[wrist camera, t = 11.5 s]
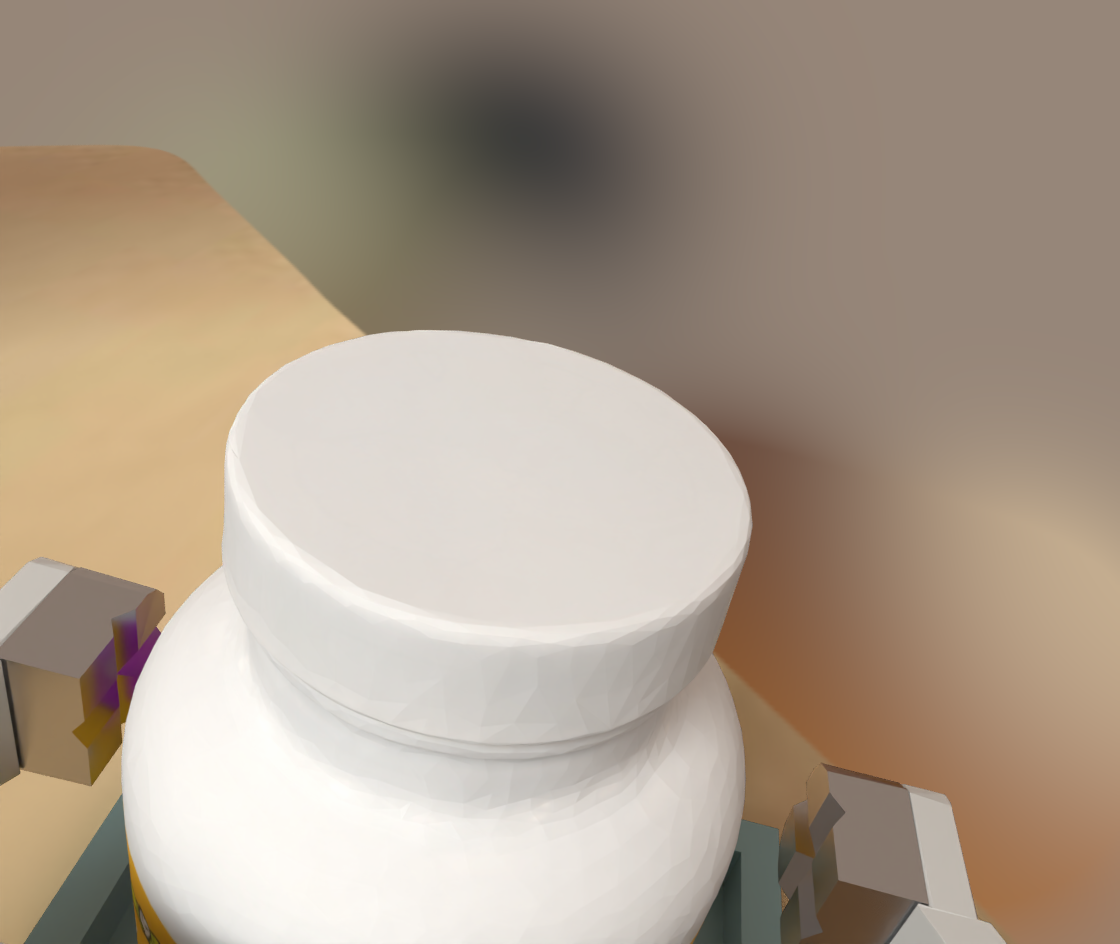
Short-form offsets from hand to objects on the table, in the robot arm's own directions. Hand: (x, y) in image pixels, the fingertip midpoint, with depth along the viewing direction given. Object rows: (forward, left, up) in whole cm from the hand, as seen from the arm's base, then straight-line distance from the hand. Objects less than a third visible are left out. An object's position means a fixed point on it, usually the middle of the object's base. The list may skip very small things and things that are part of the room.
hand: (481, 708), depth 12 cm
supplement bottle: (0, -1, -9) cm, 9 cm away
